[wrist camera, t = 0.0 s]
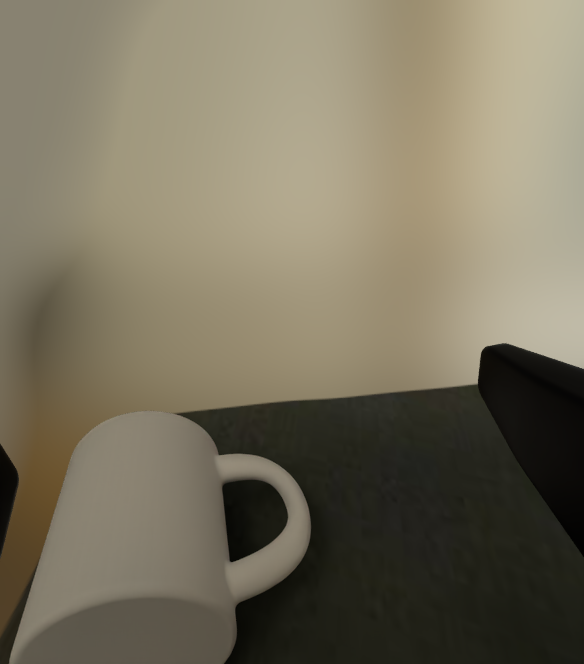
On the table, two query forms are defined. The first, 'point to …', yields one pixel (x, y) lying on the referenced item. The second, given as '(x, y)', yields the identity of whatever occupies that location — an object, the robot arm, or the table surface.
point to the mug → (150, 549)
